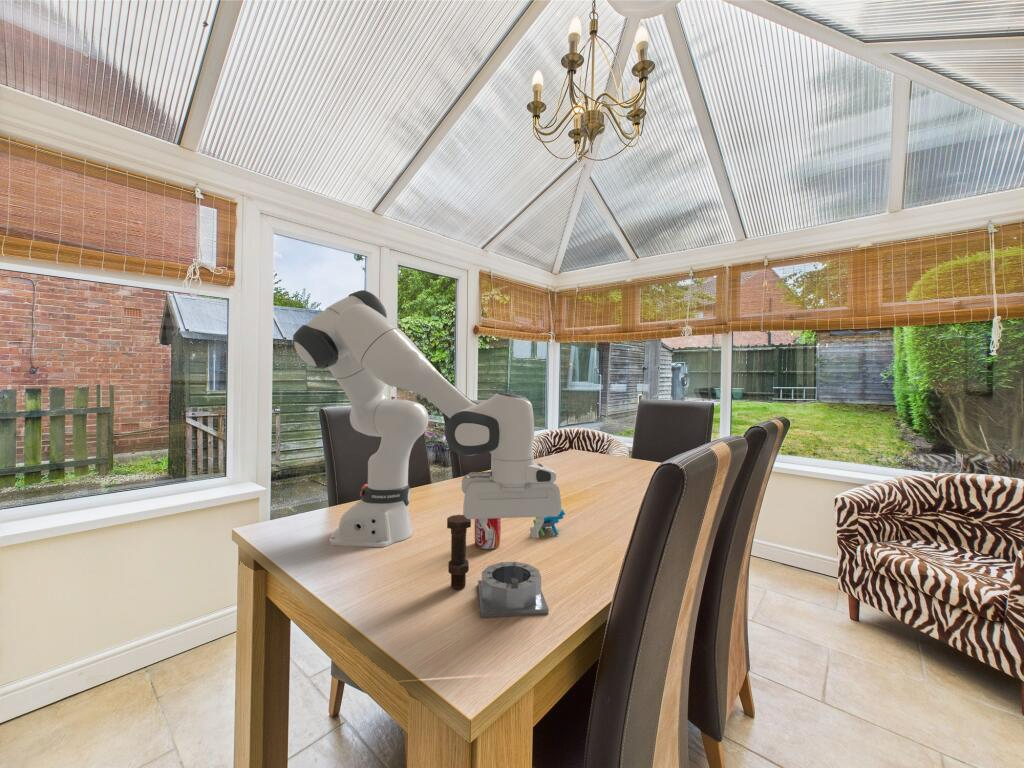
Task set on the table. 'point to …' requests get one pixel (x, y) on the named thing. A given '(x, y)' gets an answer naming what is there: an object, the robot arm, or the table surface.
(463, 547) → the bolt
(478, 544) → the soda can
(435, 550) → the table surface
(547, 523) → the blue jagged figurine
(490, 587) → the hub collar
